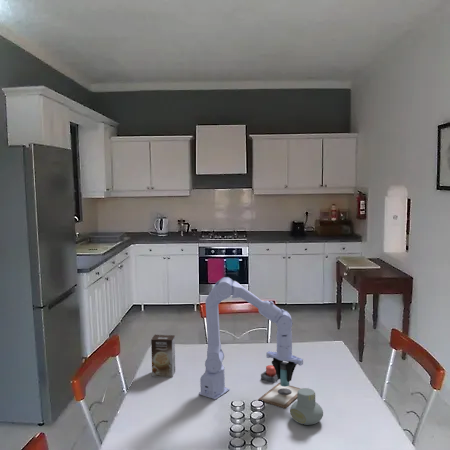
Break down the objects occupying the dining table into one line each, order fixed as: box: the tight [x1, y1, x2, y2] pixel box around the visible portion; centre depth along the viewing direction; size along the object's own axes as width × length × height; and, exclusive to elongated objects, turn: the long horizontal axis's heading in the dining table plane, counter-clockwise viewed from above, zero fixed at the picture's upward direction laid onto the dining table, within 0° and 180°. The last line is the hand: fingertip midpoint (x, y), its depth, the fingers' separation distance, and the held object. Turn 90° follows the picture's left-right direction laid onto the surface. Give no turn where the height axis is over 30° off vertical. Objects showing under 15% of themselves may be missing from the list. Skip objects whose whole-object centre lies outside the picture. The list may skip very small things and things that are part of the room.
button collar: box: [260, 370, 279, 383], centre depth 180 cm, size 6×6×2 cm
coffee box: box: [150, 334, 176, 378], centre depth 185 cm, size 9×6×16 cm
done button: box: [265, 364, 276, 377], centre depth 180 cm, size 4×4×3 cm
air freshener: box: [289, 387, 324, 426], centre depth 147 cm, size 11×8×10 cm
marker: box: [279, 361, 290, 387], centre depth 166 cm, size 4×4×8 cm
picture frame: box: [258, 382, 302, 409], centre depth 165 cm, size 16×11×1 cm
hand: (284, 379), depth 166 cm, fingers closed on marker, 3 cm apart
